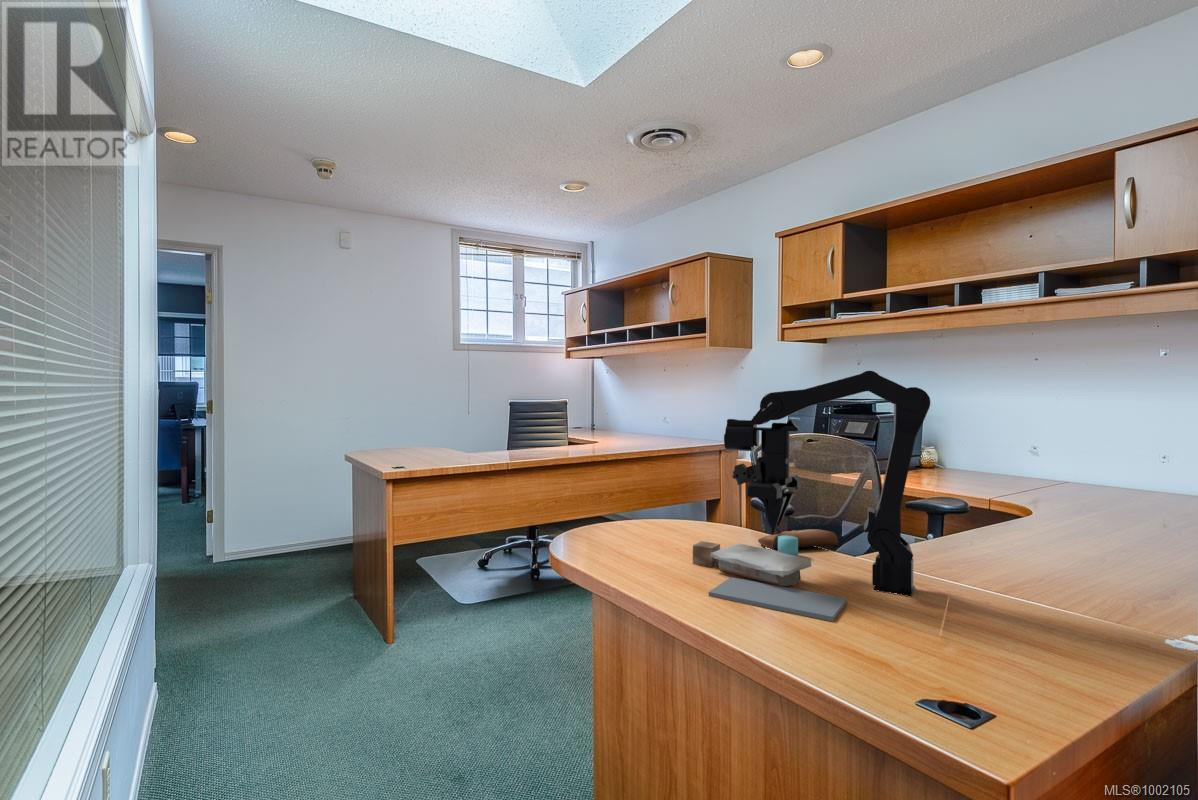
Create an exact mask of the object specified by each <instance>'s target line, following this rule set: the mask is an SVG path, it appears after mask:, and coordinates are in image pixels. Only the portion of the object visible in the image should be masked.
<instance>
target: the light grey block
mask: <svg viewBox="0 0 1198 800" xmlns="http://www.w3.org/2000/svg"><path fill="white" fill-rule="evenodd" d="M710 557H711V558H715V559H717V562H718V564H717V565H718V569H719V570H720V571H721V572H725V573H729V574H731V575H737V576H740V577H744V578H748V579H751V580H754V581H757V582H761V583H765V584H771V585H776V586H782V587H789V586H790V585H794V584H795V585H797V583H800V581H801V578H802V576H801V571H802V570H806V569H808V568H811V567H812V560H811V558H807V557H801V556H799V555H798V556H793V555H788V554H784V553H781V552H778V551H776V550H771V549H766V548H764V547H758V546H753V545H748V544H745V543H740V542H738V543H734V544H730V545H729V546H726V547H723V548H720V550H718V551H715V552H712V553H711V554H710ZM795 585H794V586H795Z"/></svg>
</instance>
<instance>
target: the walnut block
mask: <svg viewBox="0 0 1198 800" xmlns="http://www.w3.org/2000/svg"><path fill="white" fill-rule="evenodd" d="M720 549H721V544H720V543H716V542H715V543H714V542H708V541H703V540H702V541H701V540H700V541H699V542H697V543H695V544H693V545H692V564H694V565H697V564H699V566H703V565H704V566H703V567H708V566H709V567H708V568H713V567H714V565H715V564H716V565H718V564H717V563H718V562H717V559H715V558H711V557H710V554H711V553H712V552H715V551H718V550H720ZM716 565H715V566H716ZM712 566H713V567H712Z"/></svg>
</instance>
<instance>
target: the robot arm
mask: <svg viewBox="0 0 1198 800" xmlns="http://www.w3.org/2000/svg"><path fill="white" fill-rule="evenodd" d="M865 392H868V393H872V394H873V395H875V396H877V397H879V398H880V399H883V400H885V401H887V402H889V403H891V404H893V436H892V441H891V446H890V450H889V455H888V460H887V465H886V469H885V472H884V473H885V474H884V479H883V483H882V489H881V493H880V497H879V500H878V502H877V505H876V506H875V508H874V507H871V506H868V507H867V519H866V521H865V523H863V531H864V533H866V536H867V537H866V538H867V541H868V542H867V543H868V544H869V545H870V547H871V548H872V549H873V550H875V551H876V552H878V554H877V555H876V556H875V561H874V562H873V564H872V577H871V579H872V583H871V584H872V585H873V591H874V590H879V591H884V592H883V593H885V592H891V593H897V594H902V595H908V596H911V595H912V596H913V594H912V593H914V592H915V588H916V587H915V585H914V553H913V551H912V549H911V546H910V543H909V542H907V540H906V539H904V538H903V537H902V535H901V533H902V531H901V530H902V528H901V527H902V519H901V517H902V516H901V509H902V508H901V507H902V501H903V497H904V493H905V487H906V484H907V479H908V474H909V469H910V465H911V461H912V455H913V452H914V451H913V450H914V447H915V443H916V437H917V435H918V432H919V431H920V429H921V428H922V426H923V424H924V421H925V419H926V416H927V414H928V412H929V409H930V407H931V398H930V396H929V394H928V393H927V392H926V391H925V390H924V389H923V388H919V387H915V386H914V387H905V386H904V385H901V384H899V383H897V382H895V381H893V380H890V379H889V378H886V377H885V376H882V375H880V374H878V372H876V371H874V370H865V371H863V372H861V373H860V374H855V375H852V376H851V375H850V376H848V377H844V378H840V379H837V380H834V381H830V382H826V383H823V384H822V383H821V384H818V385H815V386H812V387H808V388H804V389H796V390H795V389H793V390H784V391H783V390H782V391H775V392H769V393H766V394H765V395H764V396H763V397H762V398H761V400H760V403H759V410H758V411H757V412H756V413H755V414H754V415H753V416H752V418H751V419H750V420H749V419H736V418H728V419H727V420H726V427H725V431H724V432H725V433H724V434H723V443H724V445H723V446H724V449H725V451H739V452H753V451H754V450H755V448H756V447H759V445H760V456H758V457H757V458H756V463H755V464H753V465H749V466H747V465H746V464H745V463H740V464H736V465H734V468H733V471H732V477H731V478H732V479H734V480H736V483H737V486H739V485H743V484H745V483H746V484H747V483H748V484H747V485H746V486H745V497H749V498H756V499H758V500H759V501H760V502H761V503H762V504H763V508H764V510H765V514H766V515H765V516H766V518H767V521H768V524H769V525H768V526H769V527H770V528H771V529H776V528H777V527H779V526H780V525H781V523H782V521H783V518H784V516H785V514H786V511H787V510H788V508H789V506H790V504H791V502H792V499H793V497H794V495H795V494H796V492H794V491H789V488H794V489H795V490H800V489H802V479H801V477H800V476H798V475H797V474H790V463H792V462H793V456H790V455H791V454H790V453H791V449H790V446H791V445H790V441H791V439H790V436H791V434H790V433H791V432H798V431H800V427H799V426H798V425H796V424H795V422H794V420H793V419H789V420H787V422H772V424H771V427H765V426H764V427H763V426H761V427H760V425H764V424H767V423H768V422H771V421H777V420H778V421H779V420H782V419H785V418H787V417H788V416H791V415H793V414H796V413H797V412H800V411H801V410H804V409H806V408H808V407H811V406H815V405H819V404H823V403H826V402H829V401H835V400H838V399H842V398H845V397H846V398H847V397H850V396H854V395H857V394H861V393H865ZM760 431H761V432H760ZM760 440H761V441H760ZM760 443H761V444H760ZM754 480H755V481H754ZM751 481H752V482H751ZM879 591H878V592H879ZM913 591H914V592H913ZM902 595H901V596H902ZM908 596H907V597H908ZM912 596H911V597H912Z"/></svg>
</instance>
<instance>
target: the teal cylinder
mask: <svg viewBox="0 0 1198 800" xmlns="http://www.w3.org/2000/svg"><path fill="white" fill-rule="evenodd" d="M778 552H781V553H784V554H788V555H793V556H798V557H799V547H798V538H797V537H794V536H786V535H784V536H778Z"/></svg>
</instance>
